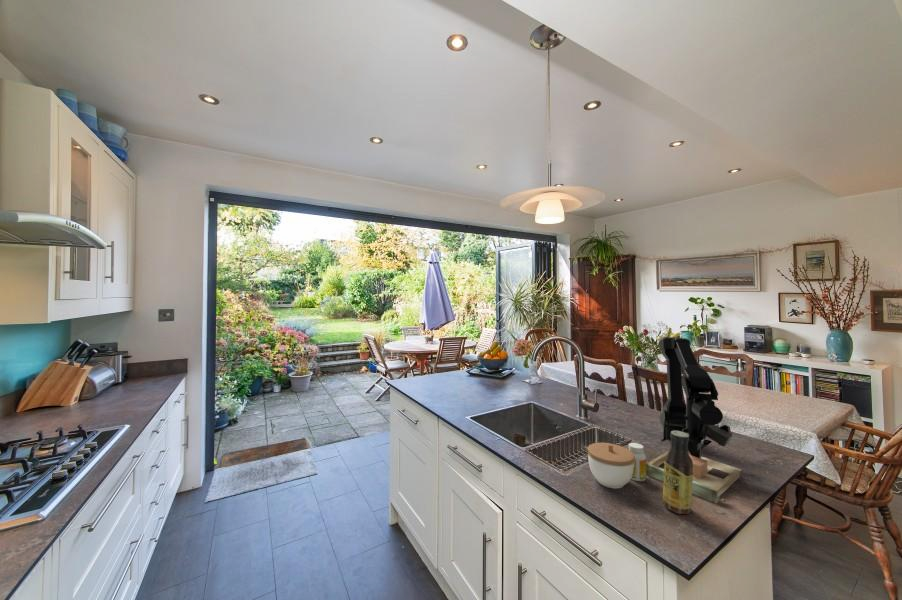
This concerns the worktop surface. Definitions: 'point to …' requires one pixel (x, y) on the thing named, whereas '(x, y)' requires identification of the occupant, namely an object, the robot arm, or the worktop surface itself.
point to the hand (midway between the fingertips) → (696, 462)
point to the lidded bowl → (611, 464)
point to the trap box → (703, 486)
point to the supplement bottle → (638, 462)
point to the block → (699, 466)
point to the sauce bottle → (678, 475)
